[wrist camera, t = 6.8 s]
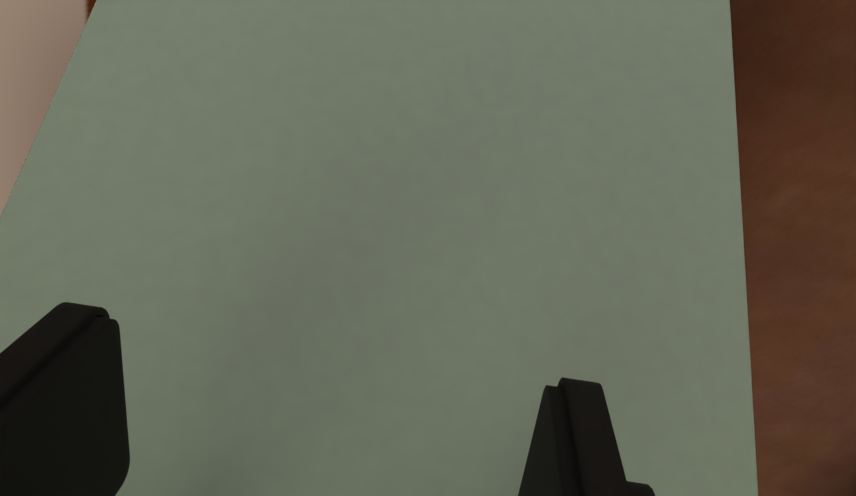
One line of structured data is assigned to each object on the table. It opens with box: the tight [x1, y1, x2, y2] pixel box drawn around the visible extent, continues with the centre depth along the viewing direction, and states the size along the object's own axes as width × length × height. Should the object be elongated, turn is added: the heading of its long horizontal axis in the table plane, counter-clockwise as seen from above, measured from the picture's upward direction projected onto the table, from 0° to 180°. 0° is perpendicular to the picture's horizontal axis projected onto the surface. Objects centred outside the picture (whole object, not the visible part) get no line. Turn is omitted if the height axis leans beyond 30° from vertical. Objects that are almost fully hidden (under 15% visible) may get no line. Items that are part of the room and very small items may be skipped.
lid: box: [0, 0, 758, 496], centre depth 11 cm, size 16×15×5 cm
